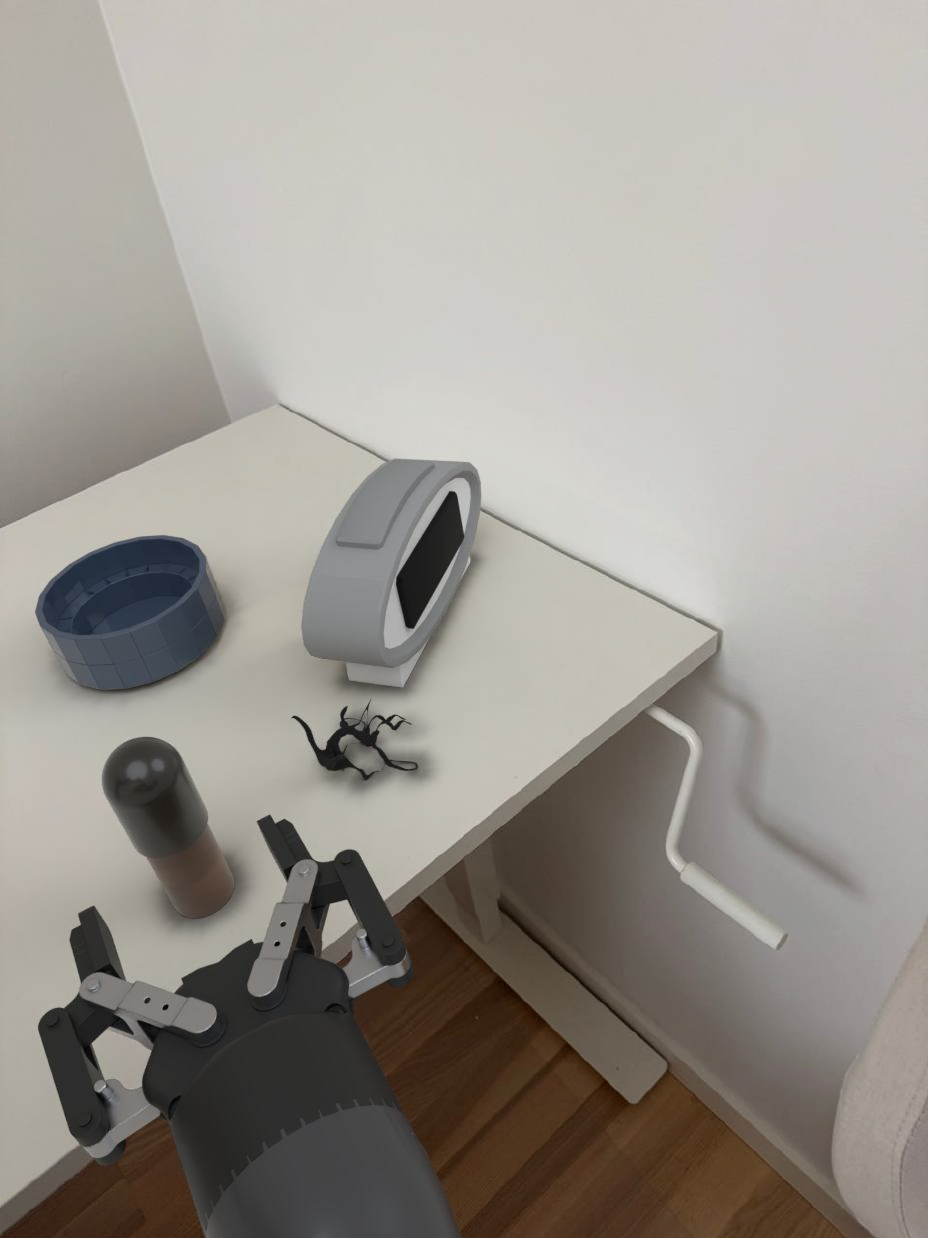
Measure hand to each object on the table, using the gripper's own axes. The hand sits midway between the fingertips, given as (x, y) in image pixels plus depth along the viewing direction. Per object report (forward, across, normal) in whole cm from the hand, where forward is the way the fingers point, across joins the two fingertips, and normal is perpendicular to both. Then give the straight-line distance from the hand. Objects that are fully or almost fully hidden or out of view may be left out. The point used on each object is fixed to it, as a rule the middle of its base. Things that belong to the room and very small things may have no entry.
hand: (182, 872), depth 44 cm
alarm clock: (+27, -24, +15) cm, 39 cm away
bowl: (+40, -4, +14) cm, 43 cm away
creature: (+15, -14, +15) cm, 25 cm away
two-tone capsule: (+11, 0, +14) cm, 18 cm away
